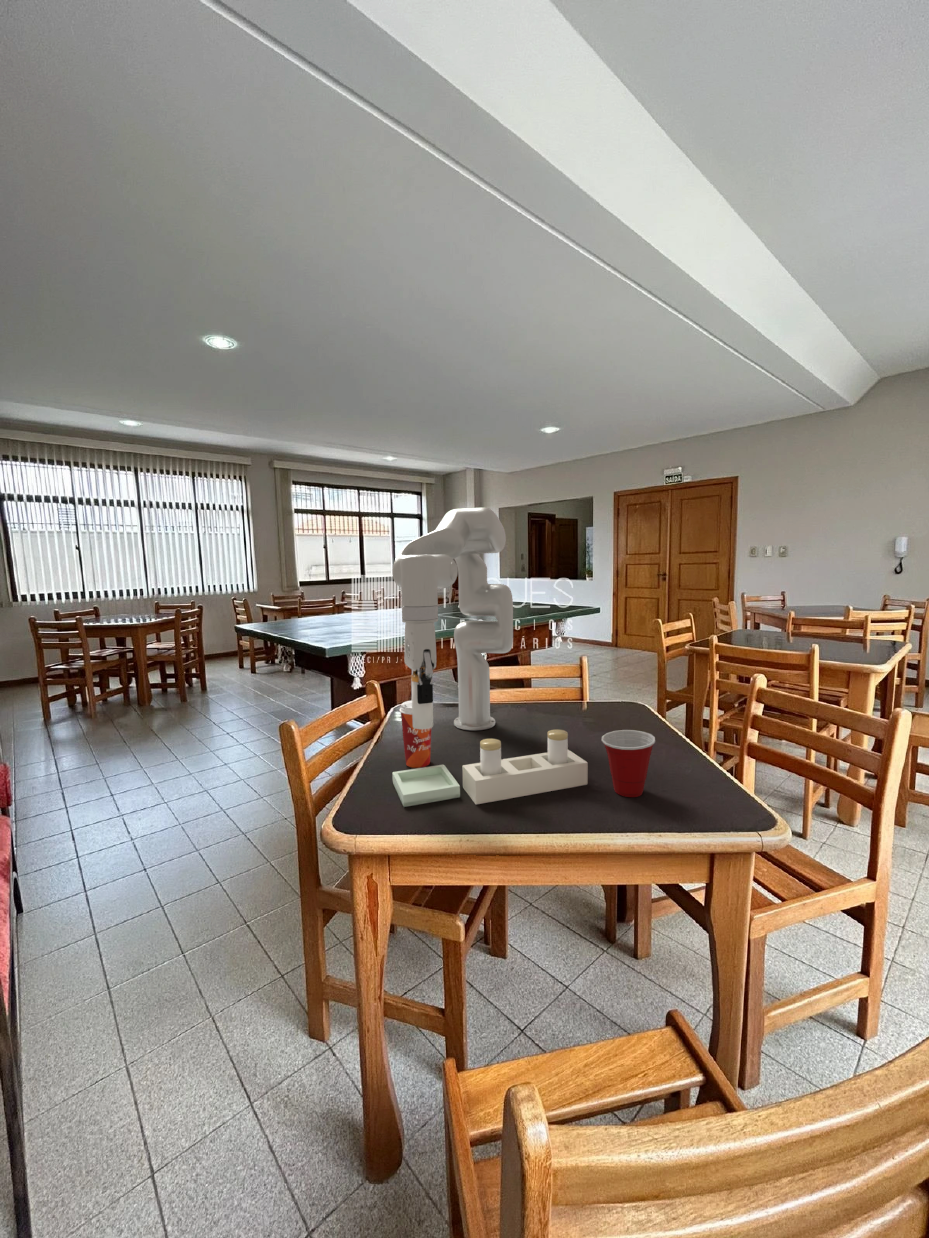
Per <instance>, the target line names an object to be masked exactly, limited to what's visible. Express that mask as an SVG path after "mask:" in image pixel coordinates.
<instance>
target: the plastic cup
mask: <svg viewBox="0 0 929 1238" xmlns="http://www.w3.org/2000/svg"><path fill="white" fill-rule="evenodd" d="M601 743H603V745H604V748H605V750H606V753H607V754H606V755H607V760H608V766H609V770H610V776H611V780H612V781H611V782H612V787H613V790H614V792H615V793H616V794H618V795H619V796H621V797H627V798H637V797H641V796H642V795H643V792H644V789H645V784H646V780H647V777H648V776H647V774H648V771H649V770H648V769H649V764H650V759H651V755H652V750H653V747H654V744H655V743H656V737H655V736H654V735H653V734H652V733H649V732H646V731H644V730H643V731H641V730H635V729H622V730H613V731H609V732H606V733H605V734H604V735H602V736H601Z"/></svg>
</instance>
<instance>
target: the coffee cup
mask: <svg viewBox="0 0 929 1238" xmlns="http://www.w3.org/2000/svg"><path fill="white" fill-rule="evenodd" d="M399 712H400V718H401V727H402V728H401V729H402V730H401V731H402V738H403V739H402V740H403V749H404V750H403V751H404V759H405V761H404V762H405V765H406V766H407V767H408V768H411V769H417V768H424V767H429V765H430V764H431V753H432V751H431V749H432V728H429V729H415V728H413V720H412V699H411V700H406V701H404V702H402V703H401V705H400V708H399Z"/></svg>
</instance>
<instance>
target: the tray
mask: <svg viewBox="0 0 929 1238" xmlns="http://www.w3.org/2000/svg"><path fill="white" fill-rule="evenodd" d="M391 776H392V785H393V786H394V788H395V791H396V793H397V796H398V798H399V800H400V802H401V804H402V806H403V808H405V807H406V808H407V807H411V806H418V805H423V804H429V803H435V802H440V801H446V800H452V799H457V798H458V799H459V798H461V786H460V784H459V783H458V781H457V780H456V779H455V777H454V776H453V775H452V773H451V772H450V770H449V769H448V768H447V767H446V765H445V764H439V765H438V764H437V765H431V766H425V767H421V768H411V769H405V770H398V771H393V772H392V775H391Z"/></svg>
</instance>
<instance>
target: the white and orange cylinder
mask: <svg viewBox="0 0 929 1238" xmlns="http://www.w3.org/2000/svg"><path fill="white" fill-rule="evenodd" d="M423 674H425V673H422V675H423ZM410 680H411V683H410V684H411V700H412V720H413V728H415V729H429V728H431V729H432V728H433V727H434V704H433V703H434V701H433V702H432V703H425V704H419V703H418V701H417V685H419V683H418V674H413V675H412V674H411V675H410Z"/></svg>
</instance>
